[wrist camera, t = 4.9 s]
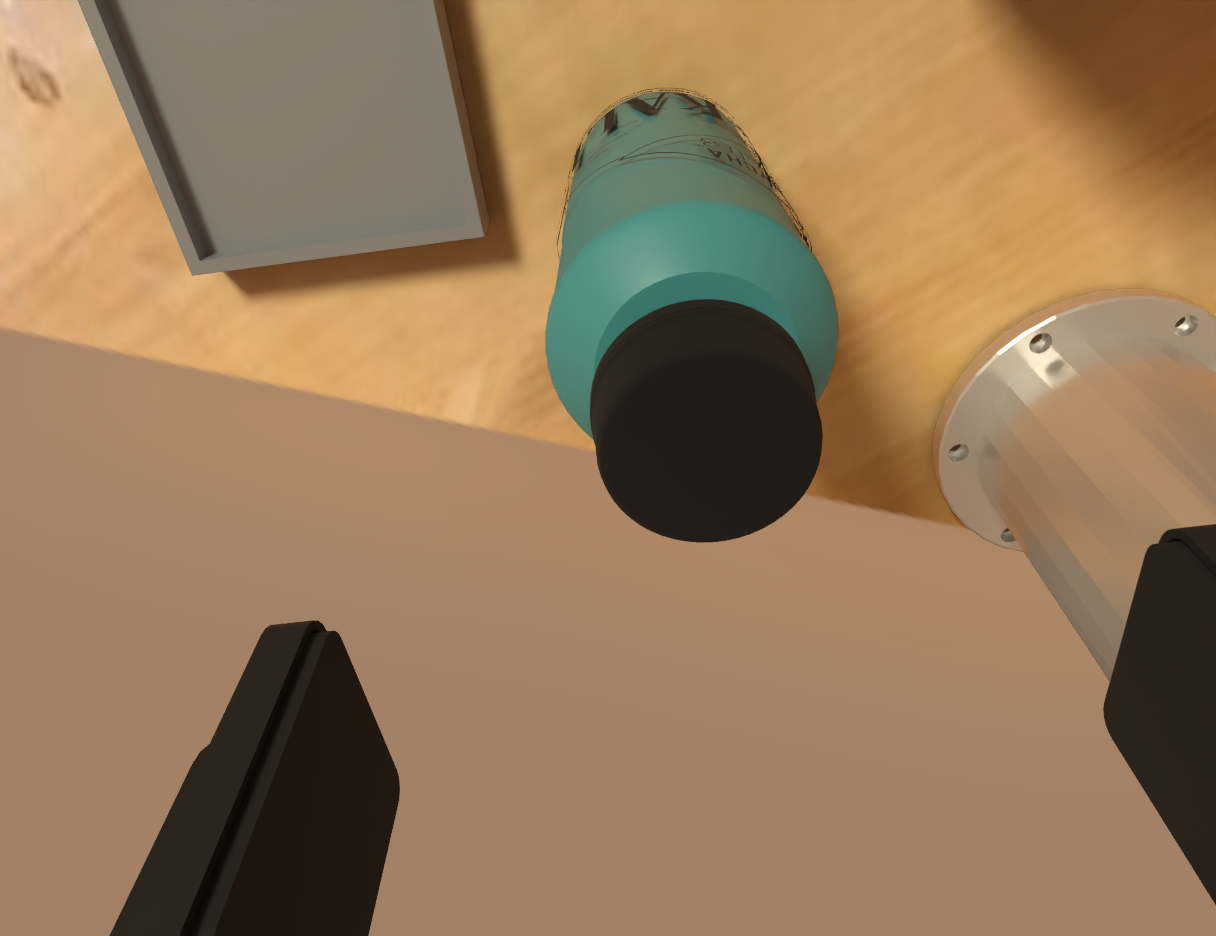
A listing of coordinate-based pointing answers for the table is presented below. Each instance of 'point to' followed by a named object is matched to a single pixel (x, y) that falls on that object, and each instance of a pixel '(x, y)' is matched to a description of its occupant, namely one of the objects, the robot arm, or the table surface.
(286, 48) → the tray
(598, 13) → the table surface
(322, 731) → the robot arm
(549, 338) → the beverage bottle
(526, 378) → the table surface
